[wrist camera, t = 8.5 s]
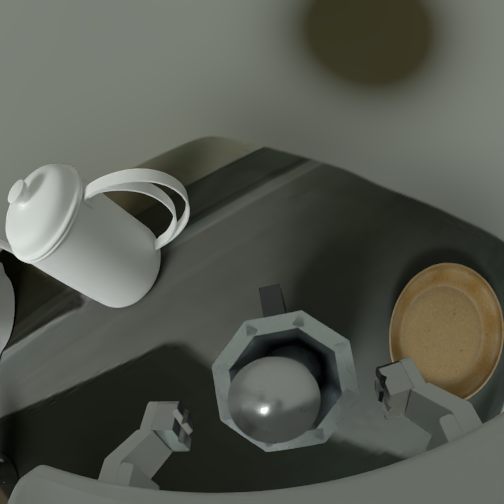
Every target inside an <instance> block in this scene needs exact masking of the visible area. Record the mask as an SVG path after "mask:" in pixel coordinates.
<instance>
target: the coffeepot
mask: <svg viewBox="0 0 504 504" xmlns="http://www.w3.org/2000/svg"><path fill="white" fill-rule="evenodd" d="M148 182H152V183H158V184H161V185H165V186H167V187H169V188H171V189H173V190H175V191H176V192H177V193H179V194H180V195H181V196H182V197H183V199H184V200H185V202H186V207H185V211H184V213H183V215H182V217H181V218H180V220H179V221H178V222H177V219H176V211H175V206H174V204H173V202H172V200H171V199H170V198H169V196H168V195H167V194H166V193H165V192H164V191H162V190H161V189H160V188H158V187H157V186H155V185H153V184H151V183H148ZM118 190H122V191H134V192H139V193H144V194H146V195H149V196H152V197H154V198H155V199H157V200H159V201H160V202H162V203H163V204H164V205H165V206H166V207H167V208H168V209H169V210H170V211H171V212H172V214H173V219H172V222H171V224H170V226H169V228H168V229H167V231H166V232H165V233H163V234H162V235H160V236H159V238H157V239H156V237H155V235H154V234H153V232H152V231H151V230H150V229H149V228H148V227H146V226H145V225H144V224H142V223H141V222H140V221H138V220H137V219H136V218H134V217H133V216H132V215H130V214H129V213H128V212H126V211H125V210H124V209H122V208H121V207H120V206H118V205H117V204H116V203H114V202H113V201H112V200H110V199H109V198H108V197H106V196H105V195H104V194H102V192H107V191H118ZM8 202H9V203H10V206H9V209H8V212H7V217H6V236H7V239H8V242H9V243H8V242H6V241H4V240H2V239H0V248H2V249H4V250H6V251H8V252H11V253H13V254H14V255H15V256H16V257H17V258H18V259H19V260H21V261H23V262H25V263H31V264H33V265H34V266H36V267H37V268H39V269H41V270H42V271H44V272H46V273H47V274H49V275H51V276H53V277H54V278H56V279H58V280H59V281H61V282H63V283H65V284H66V285H68V286H70V287H72V288H74V289H75V290H77V291H79V292H81V293H83V294H85V295H87V296H88V297H90V298H92V299H94V300H96V301H98V302H100V303H102V304H104V305H106V306H109V307H115V308H121V307H126V306H129V305H132V304H134V303H136V302H137V301H139V300H140V299H141V298H143V297H144V296H145V295H146V294H147V292H148V291H149V290H150V289H151V287H152V286H153V284H154V282H155V280H156V278H157V275H158V272H159V268H160V262H161V252H160V248H161V247H163V246H164V245H166V244H167V243H169V242H170V241H172V240H173V239H174V238H175V237H176V236H177V235H178V234H179V233H180V232H181V231H182V230H183V228H184V227H185V226H186V224H187V222H188V219H189V214H190V211H189V201H188V196H187V192H186V190H185V188H184V187H183V185H182V183H180V182H179V181H178V180H177V179H176V178H174V177H172V176H171V175H169V174H167V173H164V172H161V171H157V170H152V169H127V170H122V171H118V172H114V173H111V174H108V175H105V176H103V177H100V178H99V179H96V180H95V181H93V182H91V183H90V184H89V183H88V182H87V181H86V180H84V179H83V178H81V176H80V174H79V172H78V171H77V170H76V169H75V168H74V167H73V166H71V165H68V164H48V165H44V166H42V167H40V168H38V169H37V170H35V171H34V172H32V173H31V174H30V175H29V176H28V177H27V178H26V179H25V180H24V181H23V180H18V181H17V182H16V183H15V184H14V185H13V187H12V188H11V190H10V192H9V195H8Z"/></svg>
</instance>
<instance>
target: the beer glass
mask: <svg viewBox="0 0 504 504" xmlns="http://www.w3.org/2000/svg"><path fill="white" fill-rule="evenodd" d="M17 482H18V475H17V471H16V469H15V467H14V465H13V463H12V461H11V460H10V458H9V457H8V456H7V455H5V454H0V485H1V484H17Z"/></svg>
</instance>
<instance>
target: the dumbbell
mask: <svg viewBox="0 0 504 504" xmlns="http://www.w3.org/2000/svg"><path fill="white" fill-rule="evenodd" d="M320 381H321V369H320V365H319V363H318V361H317V359H316V358H315V357H314V355H313V354H312V353H310V352H309V351H308V350H306V349H304V348H301V347H298V346H284V347H280V348H278V349H276V350H274V351H273V352H271V353H270V354H269V355H268V356H267V357H265V358H261V359H258V360H255V361H253V362H251V363H249V364H248V365H246V366H245V367H243V368H242V369H241V370H240V371H239V372H238V373H237V375H236V376H235V377H234V379H233V381H232V383H231V385H230V388H229V391H228V399H227V403H228V409H229V413H230V416H231V418H232V420H233V422H234V423H235V425H236V426H237V427H238V428H239V429H240V430H241V431H242V432H243V433H244V434H245V435H247V436H248V437H250V438H252V439H254V440H256V441H260V442H263V443H271V444H276V443H284V442H288V441H291V440H293V439H295V438H298V437H299V436H301V435H302V434H304V433H305V432H306V431H307V430H308V429H309V428H310V427H311V426H312V424H313V423H314V421H315V419H316V417H317V415H318V412H319V409H320V401H321V398H320V391H319V384H320Z"/></svg>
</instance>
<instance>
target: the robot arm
mask: <svg viewBox="0 0 504 504" xmlns="http://www.w3.org/2000/svg"><path fill="white" fill-rule="evenodd" d="M14 312H15V298H14V291H13V286H12V283H11V281H10V279H9V278H8V277H7V275H6V274H5V272H4V268H3V264H2V263H0V355H1V352H2V350H3V349H4V347H5V346H6V344H7V342H8V340H9V337H10V334H11V331H12V326H13V321H14ZM376 376H377V379H376V380H375V391H376V395H377V398H378V400H379V401H380V402H382V408H381V409H382V411H383V414H384V416H385V419H386V420H388V419H392V418H395V417H398V416H401V415H404V414H405V416H406V417H407V418H409V419H410V420H412V421H413V422H414V423H416V424H417V425H418V426H420V427H421V428H423V429H424V430H425V431H427V432H428V433H430V434H431V435H432V437H431V439H430V441H429V443H428V445H427V447H426V450H427V452H424V453H422V454H419V455H417V456H414V457H412V458H409V459H406V460H404V461H401V462H398V463H395V464H392V465H389V466H386V467H383V468H379V469H376V470H373V471H369V472H366V473H362V474H358V475H355V476H351V477H347V478H342V479H338V480H333V481H329V482H324V483H318V484H313V485H307V486H301V487H294V488H286V489H278V490H268V491H256V492H238V493H193V492H176V491H164V490H159V486H158V485H157V484H156V483H155V482H153V481H152V480H151V478H152V477H153V475H154V474H155V473H156V472H157V470H158V469H159V468H160V467H161V465H162V464H163V463H164V462H165V460H166V459H167V458H168V457H169V455H170V454H171V453H172V451H189V449H190V443H191V438H190V436H189V434H190V433H191V432H192V431H193V419H192V416H191V414H190V412H189V411H187V410H185V405H184V403H183V402H182V401H172V402H149V403H148V405H147V408H146V411H145V414H144V417H143V421H142V424H141V427H140V430H136V431H135V432H134V433H133V434H132V435H131V436H130V437H129V438H128V439H127V440H125V441H124V442H123V443H122V444H121V445H120V446H119V447H118V448H117V449H115V450H114V451H113V452H112V453H111V454H110V455H109V456H108V457H106V458H105V460H104V463H103V466H102V469H101V473H100V476H99V479H98V480H96V479H91V478H87V477H83V476H80V475H76V474H72V473H69V472H65V471H62V470H59V469H56V468H53V467H50V466H46V465H40V466H38V467H36V468H35V469H33V470H32V471H30V472H29V473H27V474H26V475H24V476H23V477H22V478H21V479H20V480H19V481H18V483H17V485H16V486H15V488H14V490H13V492H12V494H11V497H10V499H9V501H8V504H504V412H503V413H501V414H499V415H498V416H496V417H494V418H493V419H491V420H489V421H488V422H486V423H484V424H482V423H481V421H480V419H479V417H478V415H477V414H476V412H475V410H474V408H473V406H472V405H471V403H470V402H467V401H465V400H463V399H461V398H459V397H457V396H455V395H453V394H451V393H449V392H447V391H445V390H443V389H441V388H439V387H437V386H435V385H433V384H431V383H426V382H425V381H424V379H423V377H422V375H421V373H420V372H419V370H418V368H417V366H416V364H415V363H414V361H413V359H412V358H411V357H408V358H405V359H402V360H399V361H395V362H392V363H389V364H386V365H383V366H379V367H377V368H376Z"/></svg>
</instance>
